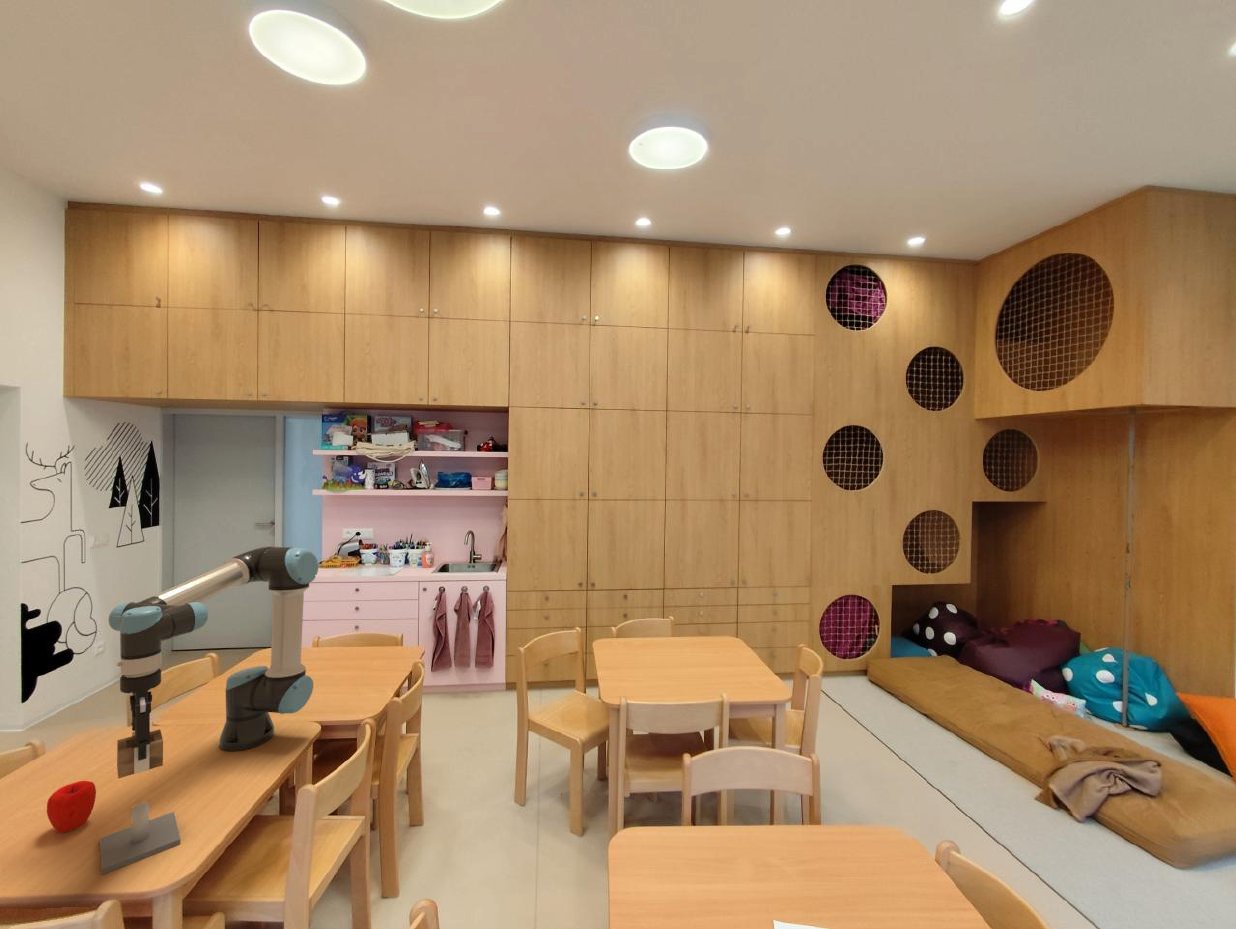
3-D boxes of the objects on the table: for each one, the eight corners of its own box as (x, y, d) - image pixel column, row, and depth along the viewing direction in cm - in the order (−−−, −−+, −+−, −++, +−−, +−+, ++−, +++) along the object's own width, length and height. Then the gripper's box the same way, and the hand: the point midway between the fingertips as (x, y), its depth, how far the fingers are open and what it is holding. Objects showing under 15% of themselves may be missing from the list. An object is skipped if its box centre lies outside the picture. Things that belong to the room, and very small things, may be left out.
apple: (64, 842, 131) (64, 799, 131) (36, 838, 133) (36, 795, 132) (105, 818, 140) (105, 777, 140) (78, 814, 141) (78, 774, 141)
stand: (173, 816, 141) (173, 781, 141) (180, 843, 131) (180, 806, 131) (100, 842, 131) (100, 805, 131) (101, 874, 121) (101, 834, 121)
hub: (159, 752, 137) (160, 729, 137) (162, 765, 131) (163, 741, 131) (117, 764, 131) (117, 740, 131) (118, 778, 125) (118, 753, 125)
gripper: (118, 663, 136) (117, 752, 136) (122, 689, 121) (121, 789, 121) (157, 656, 141) (156, 742, 141) (165, 680, 126) (164, 775, 126)
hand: (140, 763), depth 131 cm, fingers closed on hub, 8 cm apart
